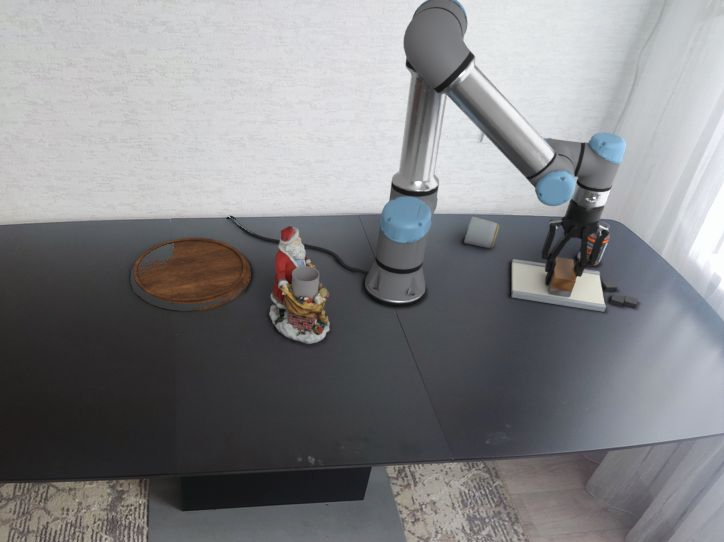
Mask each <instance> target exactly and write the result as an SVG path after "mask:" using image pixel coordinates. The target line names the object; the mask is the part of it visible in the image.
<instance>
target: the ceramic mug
mask: <svg viewBox="0 0 724 542" xmlns="http://www.w3.org/2000/svg"><path fill="white" fill-rule="evenodd" d="M499 230H500V224H499V223H497V222H495V221H492V220H488V219H484V218H480V217H477V216H473V215H472V216H471V217H470V220H469V222H468V226H467V229H466V232H465V236H464V239H463V244H466V245H471V246H475V247H481V248H486V249H491V248H493V247H494V245H495V243H496V238H497V236H498V232H499Z"/></svg>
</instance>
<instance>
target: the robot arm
mask: <svg viewBox="0 0 724 542" xmlns="http://www.w3.org/2000/svg"><path fill="white" fill-rule="evenodd" d="M468 25H469V24H468V16H467V12H466V9H465V8H464V6H463V5H462V3H461V2H459V1H458V0H425V1H423V2H422V3H421V4H419V6H418V7H417V8H416V10H415V11H414V13H413V16H412V18H411V20H410V21H409V23H408V25H407V27H406V29H405V32H404V35H403V43H402V44H403V50H404V54H405V57H406V58H405V68H406V69H407V70H408V72H409V73H410V81H409V89H408V96H407V106H406V113H405V121H404V129H403V136H402V145H401V153H400V160H399V169H398V171H397V172H396V173H394V174H393V175H392V177H391V183H390V191H389V199H388V202H386V204H385V205H384V206H383V208H382V211H381V214H380V216H379V231H378V238H377V245H376V252H375V259H374V262H373V264H372V266H371V268H370V269H369V271H367V270H364V269H361V268H357V267H354V266H353V267H352V266H350V265H347V264H346V263H344V261H343V260H342V259H341V258H340V257H339V255H338V254H337V253H335V252H333V251H332V250H329V249H327V248H324V247H321V246H316V245H312V244H308V243H302V244H303V245H304V248H307V249H312V250H316V251H320V252H324V253H327V254H328V255H331V257H333V258H335V259H336V261H337V262H338V263H339V264H340V266H342V267H343V268H344V269H346V270H348V271H350V272H351V271H352V272H356V273H360V274H362V275H363V274H364V275H366V277H365V281H364V291H365V293H366V295H368V296H369V298H371V299H372V300H374V301H375V302H377V303H379V304H383V305H386V306H389V307H390V306H391V307H408V306H412V305H415V304H417V303H419V302H420V301H421V300H422V299H423V298H424V296H425V293H426V279H425V274H424V269H423V265H424V259H425V254H426V248H427V243H428V238H429V234H430V230H431V226H432V222H433V218H434V214H435V211H436V210H437V206H438V192H439V187H440V186H439V185H440V179H439V177H438V176H437V175H436V174H435V171H436V165H437V159H438V153H439V149H440V140H441V135H442V128H443V123H444V117H445V111H446V103H447V98H449V99H450V101H452V102H453V103H454V104H455V105H456V107H458V109H459V110H460V111H461V112H462V113H463V114H464V115H465V116H466V117H467V118H468V119H469V120H470V121H471V122H472V123H473V124H474V125H475V126H476V127H477V129H479V130H480V132H481V133H482V134H483V135H484V136H485V137H486V138H487V139H488V140H489V141H490V142H491V143H492V144H493V145H494V147H496V148H497V149H498V150H499V152H500V153H501V154H502V155H503V156H504V157H505V158H506V159H507V160H508V161H509V162H510V163H511V164H512V166H514V167H515V168H516V169H517V171H519V172H520V173H521V174H522V176H523V177H524V178H525V179H526V180H527V181H528V182H529V183H530V184H531V185H532V186H533V188H534V192H535V194H536V198H537V199H538V201H539V202H540V203H542V204H543V205H545V206H548V207H558V206H562V205H564V204H565V203H567V202H568V201H569V203H568V205H567V208H566V212H565V214H564V216H563V217H562V218H560V219H557V220H555V219H550V220H549V221H548V224H549V225H548V226H549V229H548V231H547V235H546V238H545V240H544V244H543V246H542V250H541V259H543V260H546V262H545V264H546V265H545V272H547V275H546V278H545V283H546V285H549V283H550V280H551V277H552V274H553V271H554V268H555V265H556V257H558V256H559V254H560V253H561V251H562V250H563V249H564V247H565V246H566V244H567V243H568V242H569V241H570V240H571V239H575V238H576V239H578V240H580V247H581V253H580V261H578V260H576V261H575V263H574V269H575V277H576V278H577V276H578V277H581V276H582V274H583V271H584V269H586V268H587V267H588V266H587V265H591V266H590V267H594V266H593V265H595V262H596V260H597V257H598V254H599V252H600V249H601V246H602V243H603V241H604V239H605V238H606V237H607V236H608V234H610V231H609V230H610V229H609V230H608V227H607V226H604V227H603V226H601V225H599V221H600V220H601V217H602V215H603V212H604V209H605V205H606V203H607V201H608V198H609V195H610V192H611V190H612V186H613V184H614V182H615V180H616V177H617V174H618V171H619V169H620V166H621V164H622V162H623V159H624V154H625V151H626V148H627V142H626V140H625V139H624V138H623V137H622V136H620V135H618V134H614V133H610V132H602V133H601V132H598V133H595V134H592V136H591V137H590V139H589V140H588V142H581V141H572V140H566V139H565V140H564V139H557V138H552V137H543V136H542V135H541V134H540V133H539V132H538V131H537V130H536V129H535V128H534V127H533V125H531V123H529V121H528V120H527V119H526V118H525V117H524V116H523V115H522V114H521V113H520V111H519V110H518V109H517V108H516V107H515V106H514V105H513V104H512V103H511V101H510V100H509V99H508V98H507V97H506V96H505V95H504V94H503V93H502V92H501V90H499V88H498V87H496V86H495V85H494V83H493V82H492V81H491V80H490V79H489V78H488V77H487V76H486V74H485V73H484V72H483V71H482V70H481V69H480V68H479V67H478V66H477V65H476V55H475V54H474V53H473V52H472V51H471V50H470V49H469V47H468V46H467V45H466V43H465V41H464V39H465V35H466V34H467V30H468ZM576 178H577V179H576ZM229 216H230V217H231V218H233V219H235V220H237V219H236V217H235V216H233V215H229ZM225 218H226V219H227V220H231V218H229V217H228V216H226V217H225ZM235 225H236V226H237V227H238V228H239V229H240V230H241V231H243V232H245V233H246V234H248V235H250V236H251V237H253V238H257V239H259V240H263V241H266V242H270V243H277V244H280V243H279V242H280V239H275V238H271V237H266V236H262V235H259V234H257V233H255V232H252V231H251V230H249V231H250V232H252V233H253V234H252V233H250V232H248V231H247V230H248V229H247V230H245V229H244V228H245V227H244V228H242V227H241V226H242V225H241V226H239V225H237V224H236V223H235ZM560 227H561V228H562V229H563V232H562V234H561V236H560V237H559V239H557V241H556V243H555V244H554V246H553V248H552V245H553V241H554V238H555V236H556V231H558V230H559V229H560ZM596 230H597V237H596V240H595V242H594V245H593V248H592V251H591V254H590V256H589V258H587V243H588V236H589V235H591V234H592V233H593V232H595V231H596ZM551 248H552V249H551Z"/></svg>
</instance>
